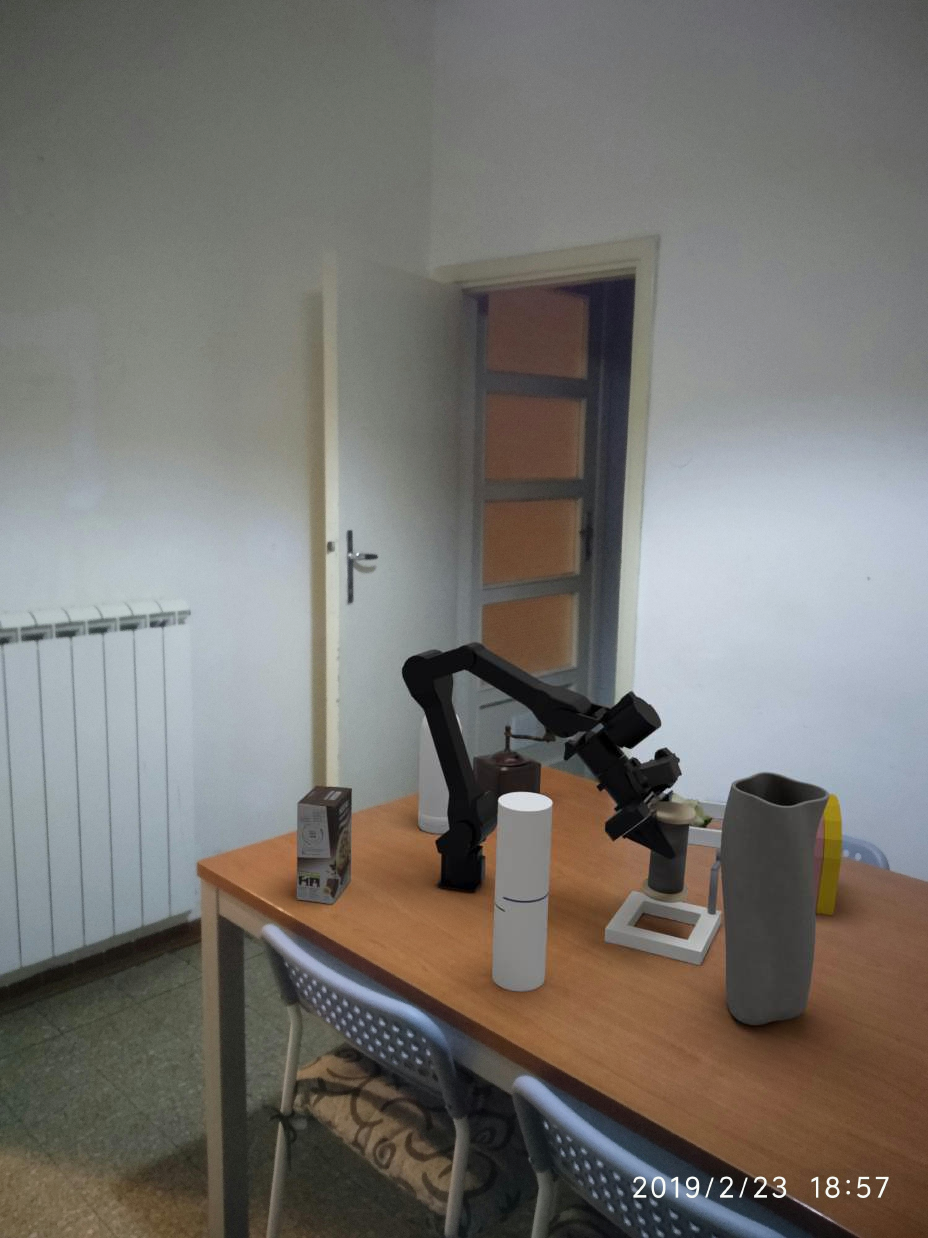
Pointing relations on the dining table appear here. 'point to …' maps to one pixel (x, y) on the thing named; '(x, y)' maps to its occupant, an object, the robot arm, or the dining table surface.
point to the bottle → (432, 786)
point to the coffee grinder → (509, 768)
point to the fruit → (700, 816)
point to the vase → (769, 895)
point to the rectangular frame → (666, 945)
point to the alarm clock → (827, 857)
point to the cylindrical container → (521, 890)
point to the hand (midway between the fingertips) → (678, 850)
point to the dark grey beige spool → (666, 873)
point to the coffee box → (324, 843)
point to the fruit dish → (708, 835)
